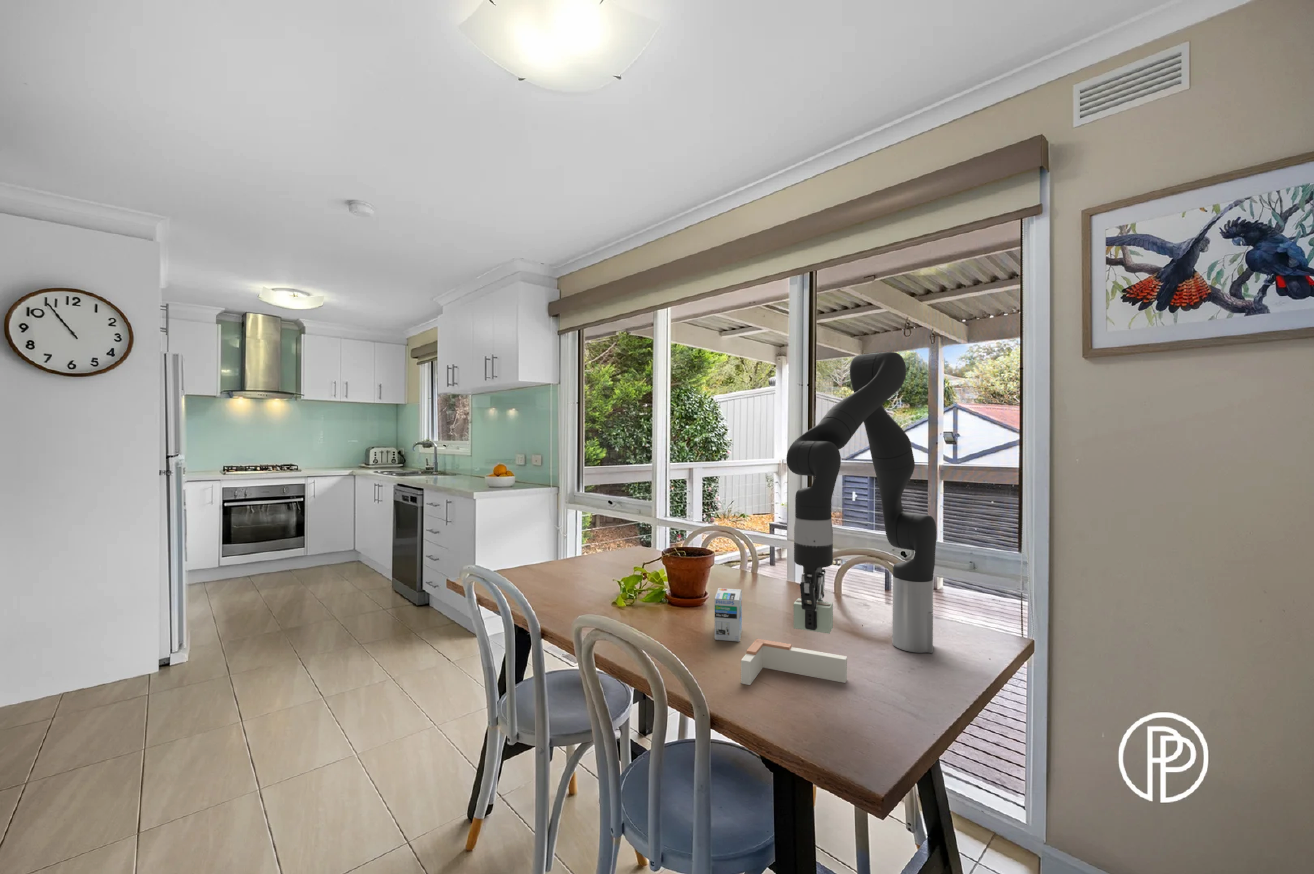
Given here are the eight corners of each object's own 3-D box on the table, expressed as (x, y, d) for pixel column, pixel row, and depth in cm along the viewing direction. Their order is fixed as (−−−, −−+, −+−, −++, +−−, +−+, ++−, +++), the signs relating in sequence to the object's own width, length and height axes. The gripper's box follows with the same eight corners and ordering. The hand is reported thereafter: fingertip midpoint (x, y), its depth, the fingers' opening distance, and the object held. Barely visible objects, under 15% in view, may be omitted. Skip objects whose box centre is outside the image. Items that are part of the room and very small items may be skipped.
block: (832, 627, 115) (832, 601, 115) (829, 633, 111) (829, 607, 111) (797, 622, 118) (797, 597, 118) (793, 628, 115) (793, 602, 114)
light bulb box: (740, 642, 145) (740, 600, 145) (713, 640, 146) (713, 598, 146) (742, 628, 156) (742, 588, 155) (717, 626, 157) (717, 587, 157)
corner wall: (847, 679, 124) (847, 653, 123) (838, 703, 113) (838, 674, 113) (756, 662, 132) (756, 638, 132) (740, 683, 122) (740, 656, 121)
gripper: (826, 548, 106) (826, 640, 107) (838, 535, 119) (838, 617, 120) (786, 545, 110) (786, 634, 110) (801, 532, 123) (801, 612, 123)
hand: (813, 624), depth 115 cm, fingers closed on block, 4 cm apart
